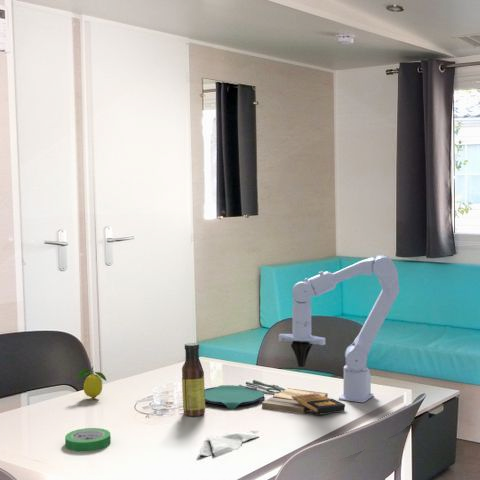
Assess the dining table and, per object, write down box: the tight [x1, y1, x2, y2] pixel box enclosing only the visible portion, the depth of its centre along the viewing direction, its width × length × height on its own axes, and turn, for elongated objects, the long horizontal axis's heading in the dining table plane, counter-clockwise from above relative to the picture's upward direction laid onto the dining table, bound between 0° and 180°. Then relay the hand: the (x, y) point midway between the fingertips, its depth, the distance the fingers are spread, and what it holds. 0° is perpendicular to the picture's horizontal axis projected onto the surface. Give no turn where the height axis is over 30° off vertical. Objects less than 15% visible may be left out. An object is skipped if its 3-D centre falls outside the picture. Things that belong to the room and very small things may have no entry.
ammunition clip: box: [292, 393, 346, 415], centre depth 223 cm, size 11×2×12 cm
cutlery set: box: [205, 379, 287, 410], centre depth 238 cm, size 20×30×2 cm, turn 137°
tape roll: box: [64, 427, 112, 452], centre depth 194 cm, size 11×11×3 cm
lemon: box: [77, 365, 107, 400], centre depth 234 cm, size 7×6×10 cm
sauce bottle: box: [181, 342, 206, 417], centre depth 219 cm, size 7×6×20 cm
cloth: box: [196, 430, 260, 461], centre depth 194 cm, size 26×14×2 cm, turn 133°
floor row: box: [261, 396, 310, 415], centre depth 224 cm, size 6×13×2 cm, turn 62°
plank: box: [272, 387, 329, 401], centre depth 233 cm, size 11×13×2 cm
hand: (301, 366), depth 236 cm, fingers closed
